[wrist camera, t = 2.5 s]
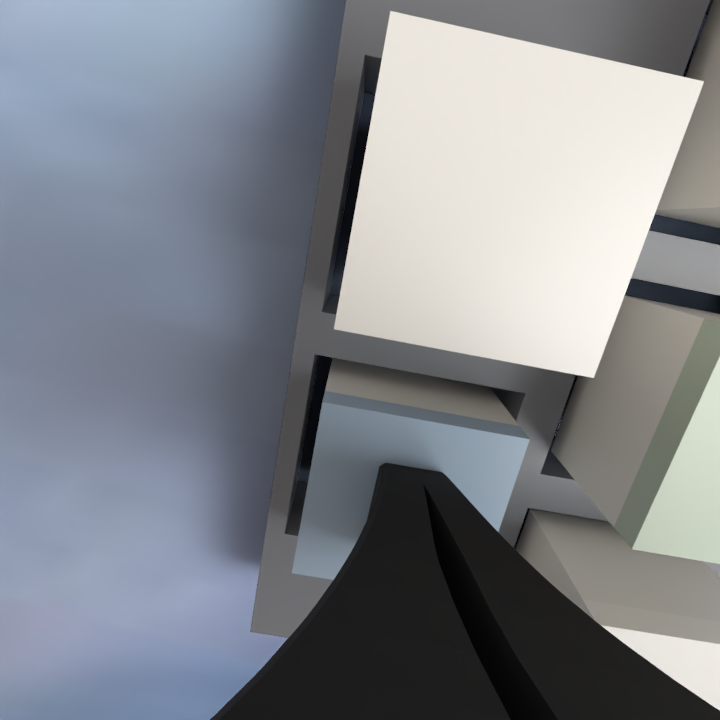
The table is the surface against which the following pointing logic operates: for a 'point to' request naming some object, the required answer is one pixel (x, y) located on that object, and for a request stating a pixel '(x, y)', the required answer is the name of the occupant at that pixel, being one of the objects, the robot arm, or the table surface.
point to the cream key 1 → (506, 194)
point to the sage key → (652, 430)
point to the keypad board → (507, 380)
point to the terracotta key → (699, 139)
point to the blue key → (400, 451)
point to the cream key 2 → (634, 595)
